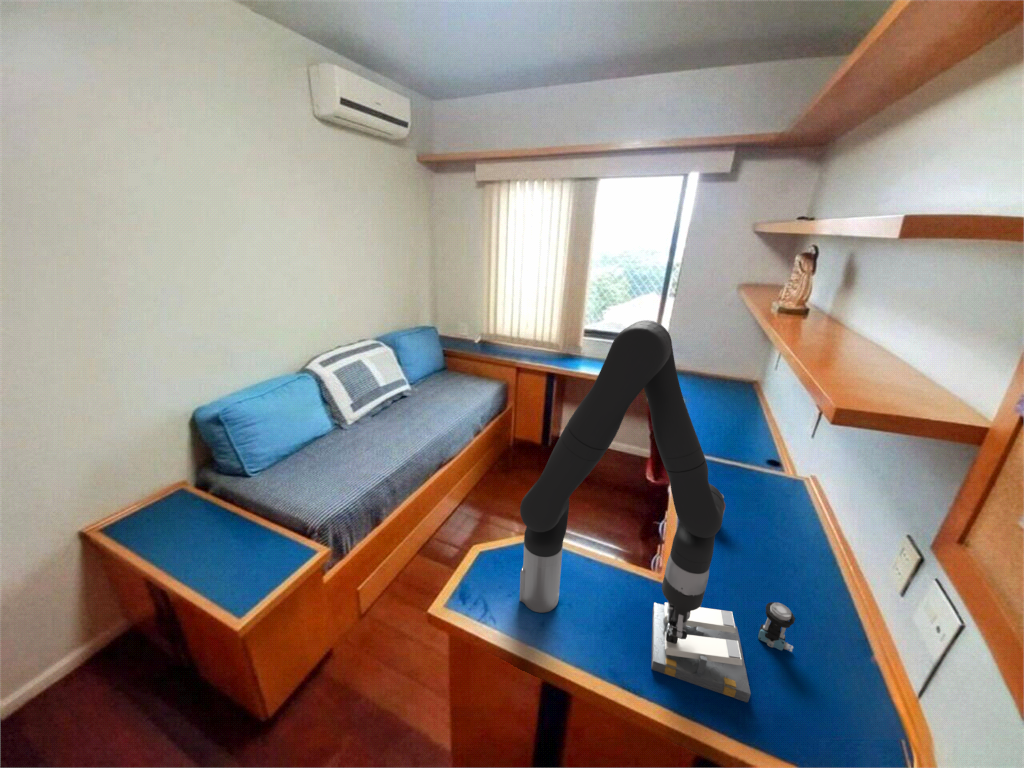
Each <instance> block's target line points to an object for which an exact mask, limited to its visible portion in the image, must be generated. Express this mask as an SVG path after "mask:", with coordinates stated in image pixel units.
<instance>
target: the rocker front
mask: <svg viewBox="0 0 1024 768" xmlns="http://www.w3.org/2000/svg"><path fill="white" fill-rule="evenodd" d="M665 651H666V655H672V656H679V657H686V658H693V659H699V658H700V655H702V656H705V657H707V661H714V662H721V663H727V664H734V665H741V666H742V659H741V654H740V649H739V644H738V641H735V640H727V639H719V638H711V637H702V636H694V635H687V637H686V639H679V638H678V640H677V643H676V644H674V643H671V642H668V641H666V632H665Z"/></svg>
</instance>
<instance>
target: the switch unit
mask: <svg viewBox="0 0 1024 768" xmlns="http://www.w3.org/2000/svg"><path fill="white" fill-rule="evenodd" d="M700 607H702V605H701V606H700ZM651 625H652V626H651V627H652V628H651V631H652V632H651V670H652V671H655V672H658V673H660V674H664V675H666V676H669V677H672V678H676V679H678V680H680V681H684V682H687V683H690V684H693V685H695V686H698V687H702V688H704V689H707V690H709V691H712V692H716V693H719V694H722V695H724V696H727V697H731V698H734V699H736V700H738V701H742V702H744V703H749V701H750V698H751V694H752V693H751V687H750V685H749V684H750V683H749V679H748V674H747V673H748V672H747V668H746V664H745V660H744V655H743V649H742V644H741V639H740V634H739V631H738V626H736V625H735V633H730V632H724V631H718V630H711V629H705V628H703V627H699V626H697V627H692V626H686V627H685V628H682V629H685V632H686V634H687V635H694V636H702V637H711V638H719V639H727V640H735V641H738V644H739V649H740V654H741V659H742V666H741V665H734V664H727V663H721V662H714V661H707V657H705V656H702V655H700V658H699V659H693V658H686V657H679V656H672V655H666V651H665V632H666V630H667V625H668V623H667V622H665V604H662V603H657V602H653V607H652V622H651Z"/></svg>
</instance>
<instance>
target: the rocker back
mask: <svg viewBox="0 0 1024 768" xmlns="http://www.w3.org/2000/svg"><path fill="white" fill-rule="evenodd" d="M664 605H665V622H667V623H668V621H667V616H668V613H667V607H668V602H664ZM686 626H692V627H697V626H699V627H703V628H705V629H711V630H718V631H724V632H730V633H735V626H736V623H735V619H734V615H733V611H730V610H723V609H716V608H708V607H702V606H701V607H699V608H698V609H696V610H692V611H690V618H689V619H688V620H687V623H686Z"/></svg>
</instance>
